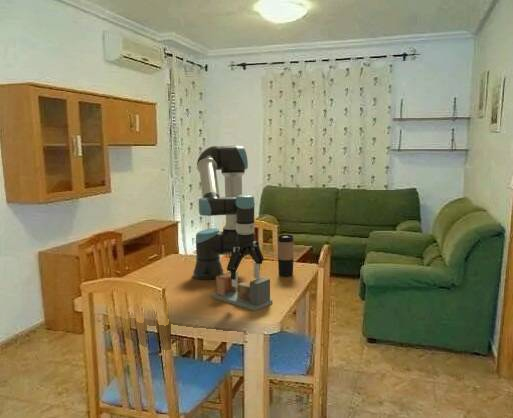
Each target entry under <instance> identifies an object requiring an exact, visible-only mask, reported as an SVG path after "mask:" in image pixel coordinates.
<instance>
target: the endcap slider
mask: <svg viewBox="0 0 513 418" xmlns="http://www.w3.org/2000/svg"><path fill="white" fill-rule="evenodd" d="M227 290H233V291H237V287H233V286H232V279H231V271H227V272H226V273H223V274H222V275H219V276H216V279H215V291H216V292H215V293H216V294H219V295H222V296H224V295H225V291H227Z"/></svg>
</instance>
